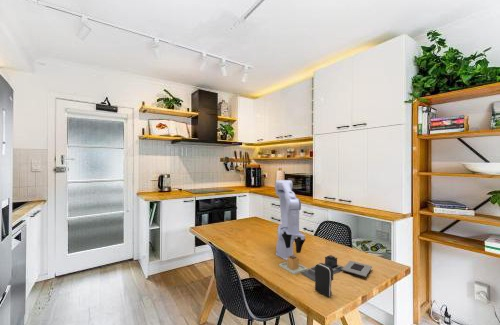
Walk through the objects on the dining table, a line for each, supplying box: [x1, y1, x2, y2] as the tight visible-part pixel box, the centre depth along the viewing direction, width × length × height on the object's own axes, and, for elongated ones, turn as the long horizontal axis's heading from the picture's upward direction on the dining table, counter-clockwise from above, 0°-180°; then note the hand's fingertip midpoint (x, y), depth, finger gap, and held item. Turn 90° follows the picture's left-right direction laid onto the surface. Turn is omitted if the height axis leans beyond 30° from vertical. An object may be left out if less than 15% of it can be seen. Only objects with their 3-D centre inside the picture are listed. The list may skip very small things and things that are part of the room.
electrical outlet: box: [342, 260, 373, 278], centre depth 114 cm, size 13×10×2 cm
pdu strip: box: [301, 254, 344, 282], centre depth 113 cm, size 22×8×7 cm, turn 122°
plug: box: [286, 254, 300, 270], centre depth 117 cm, size 4×4×6 cm
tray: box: [278, 261, 308, 275], centre depth 117 cm, size 11×9×1 cm
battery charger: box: [314, 262, 334, 298], centre depth 95 cm, size 7×4×11 cm, turn 37°
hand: (293, 250), depth 117 cm, fingers open, 7 cm apart
